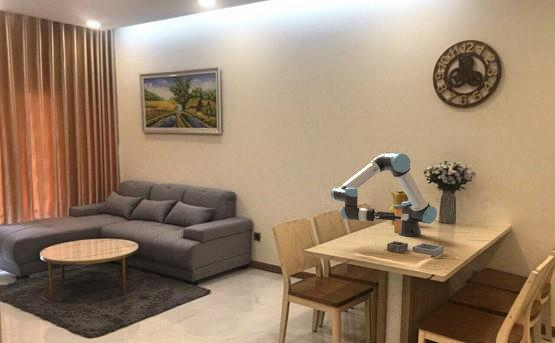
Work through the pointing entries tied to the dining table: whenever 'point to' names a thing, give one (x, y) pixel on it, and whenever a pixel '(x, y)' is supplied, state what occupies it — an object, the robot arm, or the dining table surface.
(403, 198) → the pitcher
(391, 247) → the grey square socket
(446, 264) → the dining table surface
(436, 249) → the tray
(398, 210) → the lock pin
